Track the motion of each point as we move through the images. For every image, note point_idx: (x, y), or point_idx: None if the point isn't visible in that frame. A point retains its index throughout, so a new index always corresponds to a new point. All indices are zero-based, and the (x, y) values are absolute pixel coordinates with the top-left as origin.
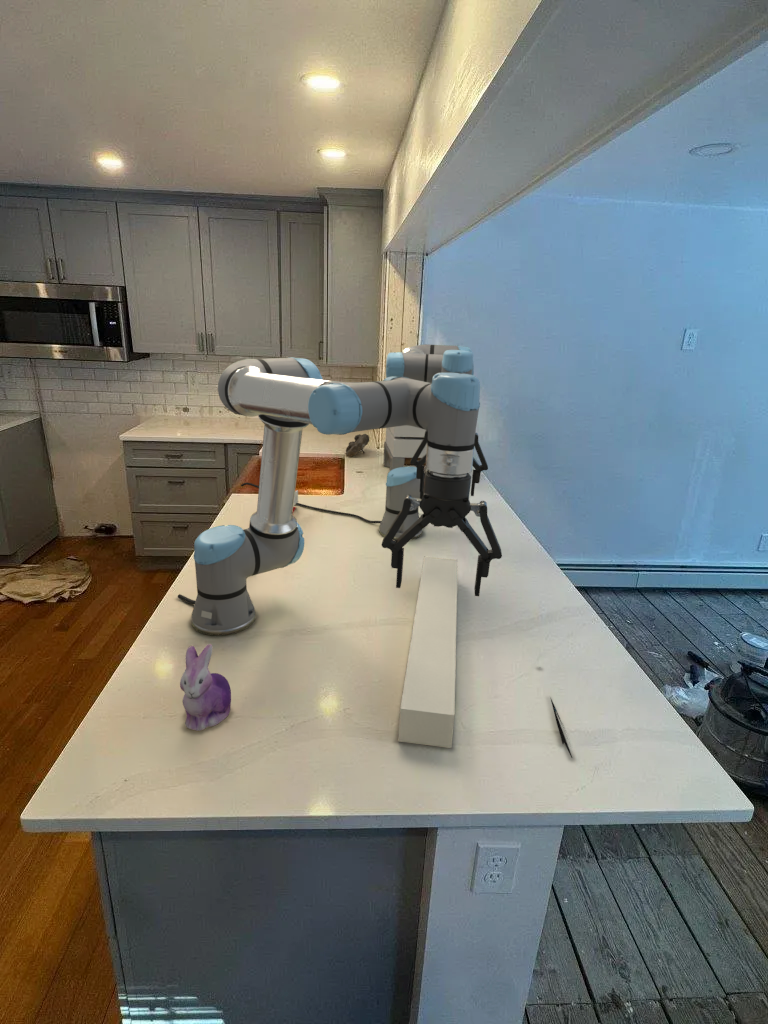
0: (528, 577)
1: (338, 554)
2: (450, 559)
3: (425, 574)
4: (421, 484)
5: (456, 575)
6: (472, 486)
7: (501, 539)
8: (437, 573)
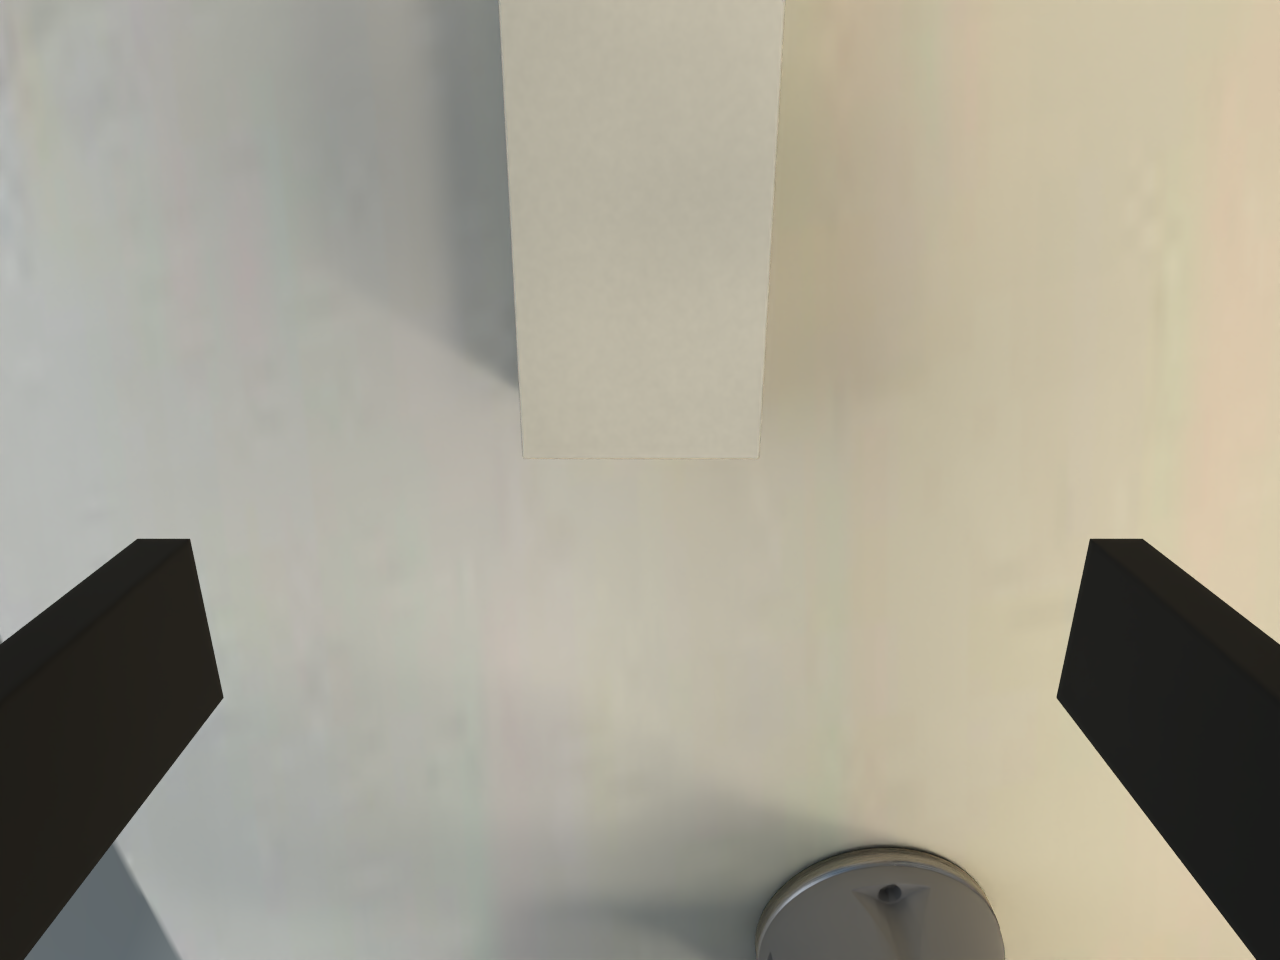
0: None
1: None
2: (572, 448)
3: (745, 149)
4: (1205, 610)
5: (514, 184)
6: (58, 636)
7: (325, 955)
8: (656, 188)
